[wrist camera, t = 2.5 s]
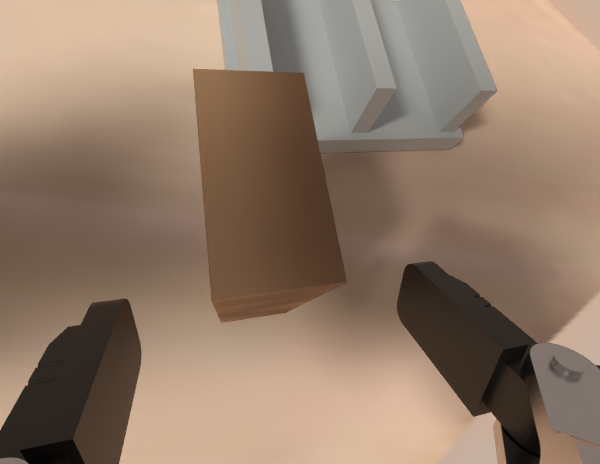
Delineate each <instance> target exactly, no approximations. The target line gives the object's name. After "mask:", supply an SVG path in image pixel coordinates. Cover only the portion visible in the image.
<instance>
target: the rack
mask: <svg viewBox="0 0 600 464" xmlns="http://www.w3.org/2000/svg"><path fill="white" fill-rule="evenodd" d="M218 11H219V19H220V28H221V37H222V45H223V54H224V62H225V70H239V71H269V72H300V73H304V76H305V81H306V86H307V91H308V96H309V100H310V105H311V110H312V115H313V120H314V125H315V130H316V135H317V140H318V145H319V149H320V153H344V152H376V151H408V150H439V149H451V148H453V147H454V146H455V145H456V144H457V143H458V142H460V141H461V140H462V139H463V138H464V135H463V133H462V130H461V127H460V125H461V124H462V123H463V122H465V121H466V120H467V119H468V118H469V117H470V116H471V115H472V114H473V113H474V112H475V111H476V110H477V109H479V108H480V107H481V106H482V105H483V104H484V103H485V102H486V101H487V100H488V99H489V98H490V97H491V96H492V95H494V94H495V93H496V92H497V88H496V86H495V83H494V81H493V78H492V76H491V74H490V71H489V69H488V66H487V64H486V61H485V59H484V57H483V54H482V52H481V49H480V47H479V44H478V42H477V40H476V37H475V35H474V32H473V30H472V27H471V25H470V23H469V20H468V18H467V15H466V13H465V10H464V8H463V6H462V3H461V1H460V0H399V1H398V0H218Z"/></svg>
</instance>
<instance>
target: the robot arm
mask: <svg viewBox="0 0 600 464" xmlns="http://www.w3.org/2000/svg"><path fill="white" fill-rule="evenodd" d="M397 310H398V315H399V318H400V320H401V322H402V323H403V325H404V326H405V327H406V329H407V330H408V331H409V333H410V334H411V335H412V336H413V338H414V339H415V340H416V342H417V343H418V344H419V346H420V347H421V348H422V350H423V351H424V352H425V354H426V355H427V356H428V357H429V359H430V360H431V361H432V363H433V364H434V365H435V367H436V368H437V369H438V371H439V372H440V373H441V375H442V376H443V377H444V378H445V380H446V381H447V382H448V384H449V385H450V386H451V388H452V389H453V390H454V392H455V393H456V394H457V396H458V397H459V398H460V399H461V401H462V402H463V403H464V405H465V406H466V407H467V409H468V410H469V411H470V413H471V414H472V415H473V417H474V416H478V415H482V414H485V413H489V412H492V414H493V415H494V416H495V417H496V421H495V423H494V437H495V444H496V452H497V461H498V464H600V366H598V365H594V364H593V363H592V362H591V361H590V360H588V359H587V358H585V357H584V356H582V355H580V354H579V353H577V352H575V351H573V350H571V349H569V348H566V347H563V346H560V345H557V344H552V343H537V342H535V341H534V340H533V339H532V338H531V337H529V336H528V335H527V334H526V333H525V332H523V331H522V330H521V329H520V328H519V327H517V326H516V325H515V324H514V323H513V322H512V321H510V320H509V319H508V318H507V317H506V316H504V315H503V314H502V313H501V312H500V311H498V310H497V309H496V308H495V307H491V304H490V303H489V302H488V301H486V300H485V299H484V298H483V297H480V295H479V294H478V293H477V292H476V291H474V290H473V289H472V288H471V287H470V286H469V285H467V284H466V283H464V282H462V281H460V280H458V279H456V278H454V277H452V276H450V275H448V274H447V273H446V272H445V271H444V270H443V269H441V268H440V267H439V266H438V265H437V264H435V263H434V262H431V261H430V262H422V263H414V264H408V265H407V266H406V267H405V269H404V273H403V278H402V283H401V288H400V292H399V297H398V302H397ZM140 366H141V345H140V340H139V336H138V332H137V329H136V325H135V321H134V317H133V314H132V310H131V306H130V303H129V301H128V300H127V299H119V300H111V301H103V302H95V303H92V304H91V305H90V307H89V309H88V311H87V313H86V315H85V317H84V319H83V321H82V323H81V325H78V326H71V327H68V328H66V329H65V330H64V331H63V332H62V333H61V334H60V335H59V336H58V337H57V338H56V339H55V340H53V341H52V342H51V343H50V344H49V345H48V347H47V349H46V351H45V353H44V354H43V356H42V358H41V360H40V361H39V363H38V368H35V370H34V372H33V374H32V375H31V377H30V379H29V381H28V386H25V388H24V390H23V391H22V393H21V395H20V397H19V398H18V400H17V402H16V404H15V405H14V407H13V409H12V411H11V412H10V414H9V416H8V418H7V419H6V421H5V423H4V425H3V427H2V428H1V430H0V464H119V461H120V456H121V452H122V447H123V443H124V438H125V434H126V429H127V425H128V420H129V416H130V411H131V407H132V402H133V398H134V393H135V389H136V384H137V380H138V375H139V371H140Z"/></svg>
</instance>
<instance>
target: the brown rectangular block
mask: <svg viewBox="0 0 600 464" xmlns="http://www.w3.org/2000/svg"><path fill="white" fill-rule="evenodd" d="M193 75H194V87H195V100H196V112H197V124H198V137H199V149H200V161H201V174H202V186H203V198H204V211H205V223H206V235H207V248H208V260H209V272H210V285H211V297H212V302H213V305H214V307H215V309H216V311H217V314H218V316H219V318H220V321H221V323H222V322H228V321H235V320H241V319H248V318H254V317H260V316H267V315H273V314H280V313H286V312H288V311H290V310H292V309H294V308H296V307H298V306H300V305H302V304H304V303H306V302H308V301H310V300H312V299H314V298H316V297H318V296H320V295H322V294H324V293H326V292H328V291H330V290H332V289H334V288H336V287H338V286H340V285H342V284H344V283H345V282H346V277H345V272H344V267H343V262H342V257H341V252H340V247H339V242H338V238H337V233H336V228H335V223H334V218H333V213H332V208H331V203H330V198H329V194H328V189H327V184H326V179H325V174H324V169H323V164H322V159H321V154H320V149H319V145H318V140H317V135H316V130H315V125H314V120H313V115H312V110H311V105H310V100H309V96H308V91H307V86H306V81H305V76H304V73H300V72H269V71H239V70H208V69H193Z"/></svg>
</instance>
